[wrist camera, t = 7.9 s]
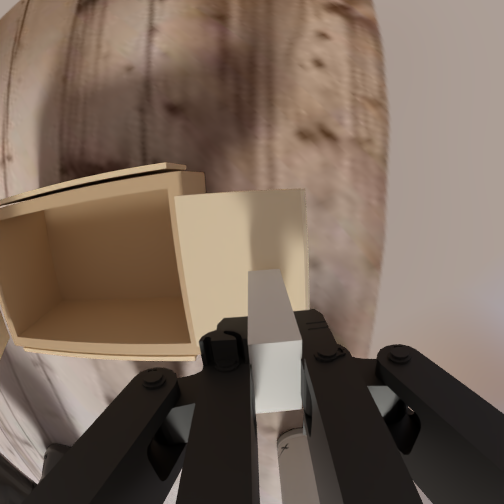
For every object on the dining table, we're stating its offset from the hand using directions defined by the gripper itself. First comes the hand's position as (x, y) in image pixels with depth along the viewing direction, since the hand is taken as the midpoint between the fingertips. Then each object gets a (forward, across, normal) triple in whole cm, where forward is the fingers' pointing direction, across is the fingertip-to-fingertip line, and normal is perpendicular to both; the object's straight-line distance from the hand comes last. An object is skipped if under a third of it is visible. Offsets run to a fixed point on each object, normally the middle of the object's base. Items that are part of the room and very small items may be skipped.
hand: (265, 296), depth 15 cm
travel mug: (+15, +4, -30) cm, 34 cm away
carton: (+15, -14, 0) cm, 21 cm away
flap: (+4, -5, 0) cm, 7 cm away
